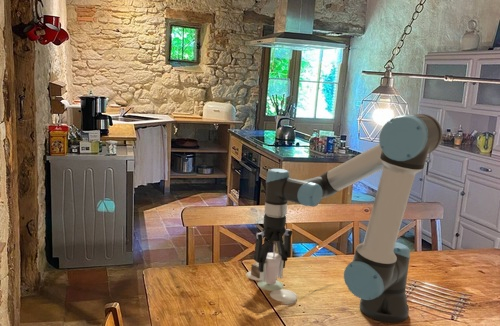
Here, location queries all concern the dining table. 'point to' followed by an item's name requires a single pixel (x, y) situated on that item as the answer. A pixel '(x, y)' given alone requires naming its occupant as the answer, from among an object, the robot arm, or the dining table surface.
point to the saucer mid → (269, 286)
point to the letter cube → (255, 270)
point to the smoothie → (272, 267)
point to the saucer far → (252, 276)
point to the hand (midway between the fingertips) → (271, 278)
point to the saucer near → (284, 296)
